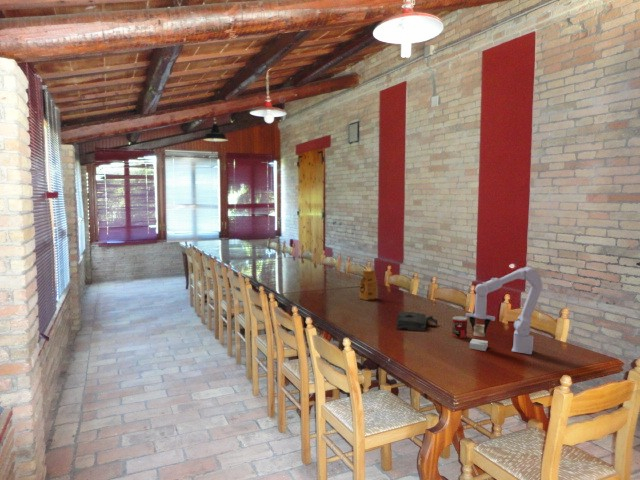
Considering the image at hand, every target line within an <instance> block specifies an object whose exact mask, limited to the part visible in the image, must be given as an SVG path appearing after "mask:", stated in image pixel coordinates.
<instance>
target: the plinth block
mask: <svg viewBox="0 0 640 480" xmlns="http://www.w3.org/2000/svg"><path fill="white" fill-rule="evenodd" d="M468 345H469V347H468V348H469V349H470V350H476V351H483V352H486V351H487V348H488V345H489V340H483V339H477V338H476V339H475V338H472V339H471V340H470V342H469V344H468Z"/></svg>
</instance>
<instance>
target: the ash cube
mask: <svg viewBox="0 0 640 480" xmlns="http://www.w3.org/2000/svg"><path fill="white" fill-rule="evenodd" d="M484 327H485V324H480V323H479V324H478V323H475V325H474V332H473V336H475V337H481V338H484V337H485V335H486V333H484Z"/></svg>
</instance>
